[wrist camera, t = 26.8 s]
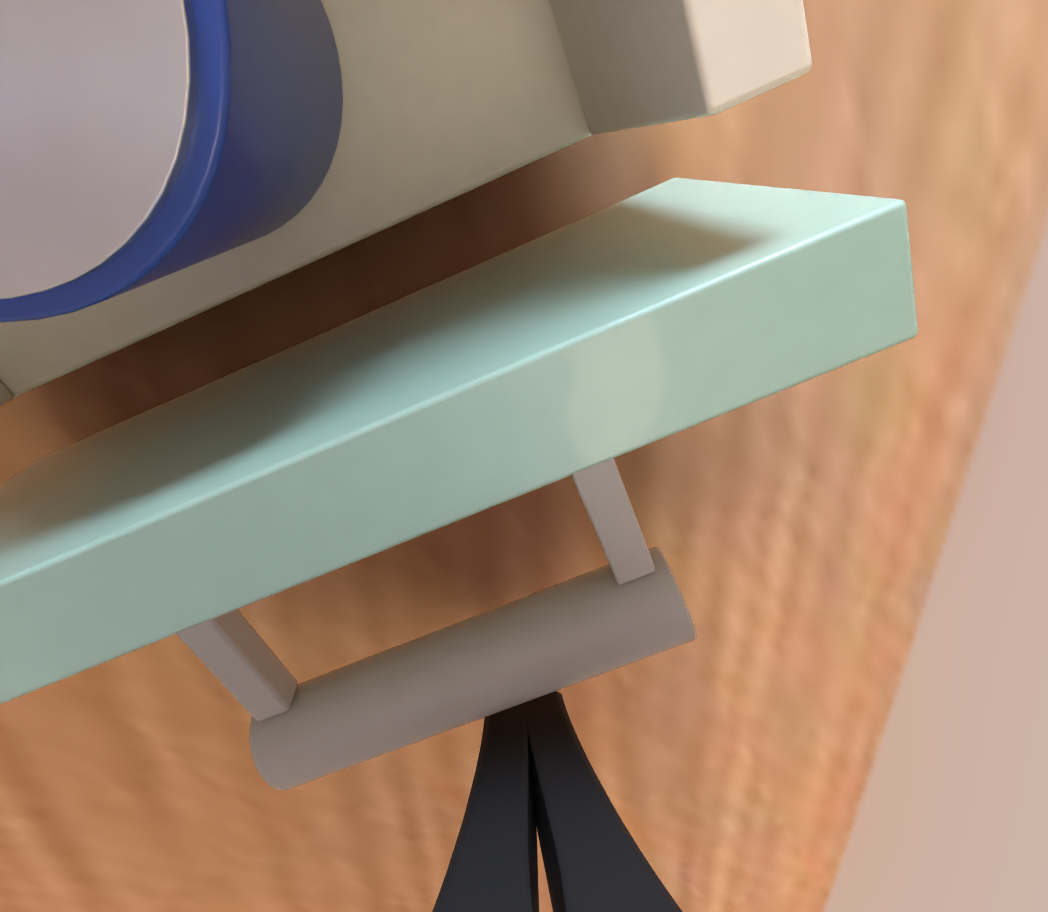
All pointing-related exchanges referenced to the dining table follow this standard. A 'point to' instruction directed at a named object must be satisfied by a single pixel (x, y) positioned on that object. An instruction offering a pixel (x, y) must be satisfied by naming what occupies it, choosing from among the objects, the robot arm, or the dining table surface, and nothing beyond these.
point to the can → (153, 138)
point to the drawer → (446, 375)
